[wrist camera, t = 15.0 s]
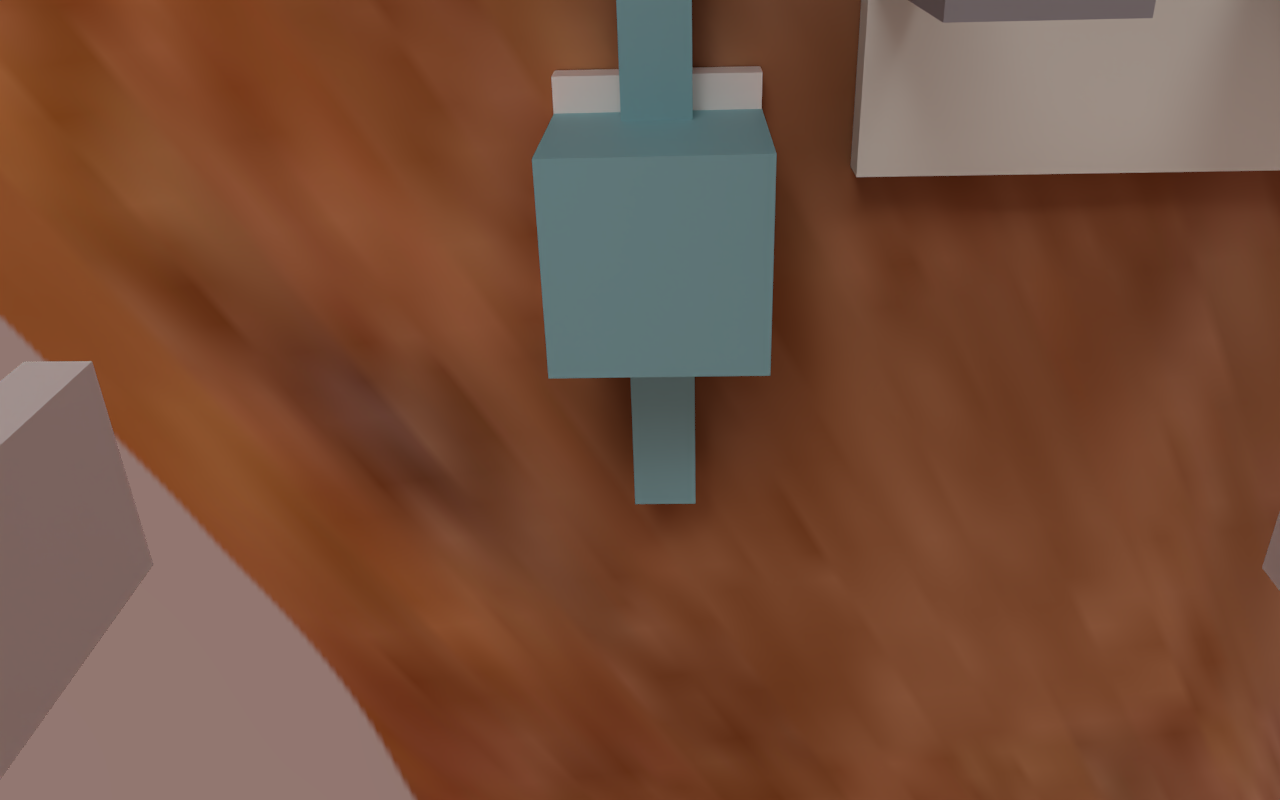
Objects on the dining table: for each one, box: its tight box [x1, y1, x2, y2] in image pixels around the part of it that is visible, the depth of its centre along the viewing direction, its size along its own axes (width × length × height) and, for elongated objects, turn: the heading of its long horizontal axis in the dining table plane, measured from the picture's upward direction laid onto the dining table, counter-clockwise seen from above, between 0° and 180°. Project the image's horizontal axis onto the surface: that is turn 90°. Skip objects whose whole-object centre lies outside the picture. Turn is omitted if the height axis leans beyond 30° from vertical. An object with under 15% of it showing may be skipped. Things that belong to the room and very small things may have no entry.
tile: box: [551, 66, 763, 114], centre depth 33 cm, size 8×6×1 cm
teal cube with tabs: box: [532, 0, 777, 504], centre depth 30 cm, size 6×19×5 cm, turn 2°
